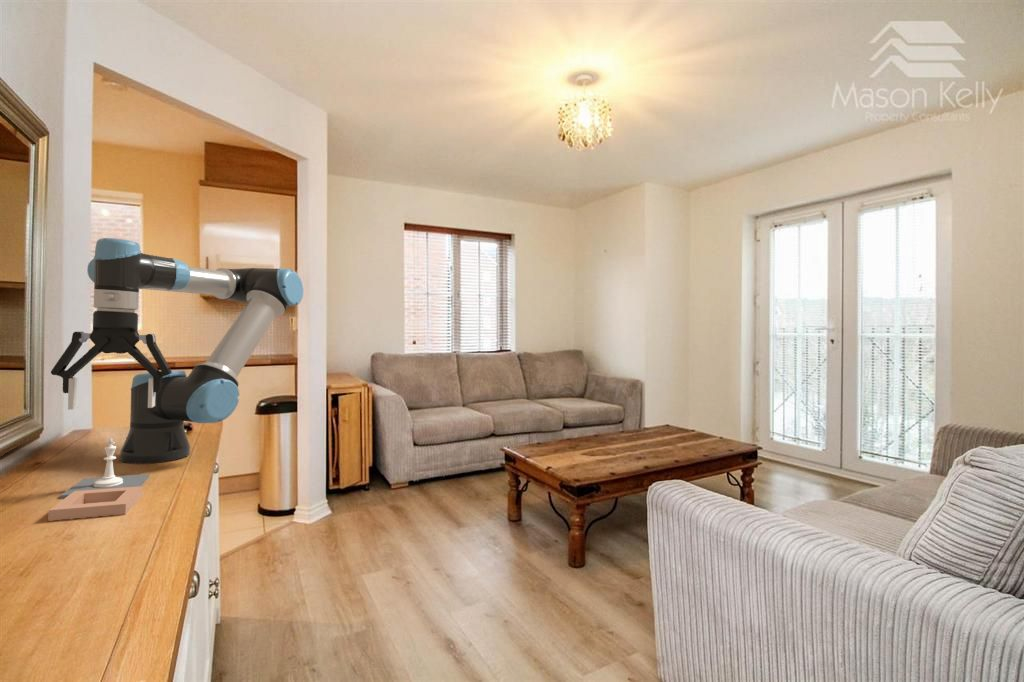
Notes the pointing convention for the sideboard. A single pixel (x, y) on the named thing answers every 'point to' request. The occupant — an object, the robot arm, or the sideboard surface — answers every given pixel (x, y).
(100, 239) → the robot arm
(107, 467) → the chess piece
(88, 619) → the sideboard surface
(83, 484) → the mat
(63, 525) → the sideboard surface
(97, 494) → the pocket holder
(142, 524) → the sideboard surface
